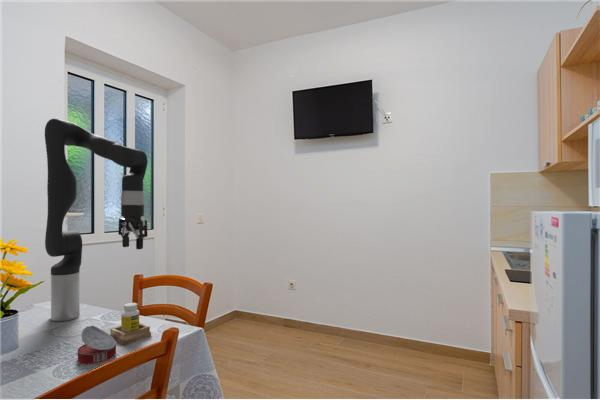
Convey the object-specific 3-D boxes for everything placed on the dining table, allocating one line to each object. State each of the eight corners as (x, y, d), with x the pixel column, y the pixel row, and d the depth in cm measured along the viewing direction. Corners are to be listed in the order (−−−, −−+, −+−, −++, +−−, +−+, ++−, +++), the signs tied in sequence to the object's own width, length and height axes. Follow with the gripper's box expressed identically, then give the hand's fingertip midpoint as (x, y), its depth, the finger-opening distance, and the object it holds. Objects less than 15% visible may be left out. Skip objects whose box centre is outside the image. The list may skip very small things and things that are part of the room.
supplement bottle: (132, 337, 115) (132, 307, 115) (117, 335, 116) (117, 306, 116) (142, 331, 121) (142, 302, 120) (128, 329, 122) (128, 301, 122)
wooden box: (109, 338, 117) (109, 329, 117) (135, 329, 125) (135, 320, 125) (125, 345, 112) (125, 335, 112) (151, 335, 120) (151, 326, 120)
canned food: (101, 364, 109) (115, 330, 114) (115, 371, 103) (129, 335, 107) (63, 358, 102) (79, 322, 106) (75, 365, 96) (92, 327, 100)
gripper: (111, 203, 130) (111, 247, 130) (134, 204, 122) (134, 251, 122) (130, 202, 136) (130, 245, 136) (153, 203, 128) (153, 248, 129)
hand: (132, 248), depth 129 cm, fingers open, 8 cm apart
